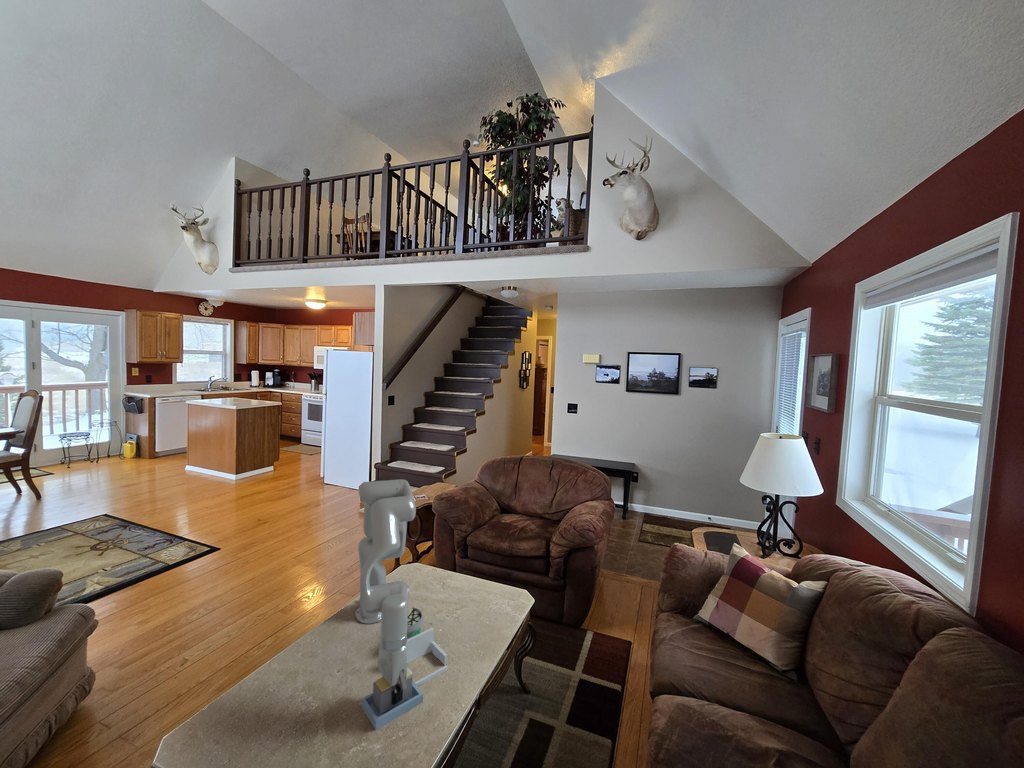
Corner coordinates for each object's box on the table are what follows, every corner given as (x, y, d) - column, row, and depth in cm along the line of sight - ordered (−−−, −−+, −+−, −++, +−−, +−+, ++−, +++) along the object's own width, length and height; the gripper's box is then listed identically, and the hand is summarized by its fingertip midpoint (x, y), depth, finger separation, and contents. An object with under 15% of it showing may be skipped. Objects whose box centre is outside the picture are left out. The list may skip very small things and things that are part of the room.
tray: (361, 706, 128) (361, 698, 128) (406, 682, 138) (407, 674, 138) (375, 730, 121) (376, 721, 120) (422, 702, 131) (423, 694, 130)
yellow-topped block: (372, 702, 128) (373, 680, 127) (403, 686, 135) (404, 665, 134) (380, 714, 124) (380, 691, 123) (411, 696, 131) (412, 674, 130)
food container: (414, 658, 148) (414, 630, 147) (397, 654, 150) (398, 627, 149) (428, 634, 160) (428, 609, 159) (412, 631, 162) (413, 606, 161)
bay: (395, 667, 144) (395, 644, 143) (431, 648, 153) (432, 627, 152) (412, 689, 135) (413, 665, 134) (450, 668, 145) (451, 645, 144)
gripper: (369, 628, 131) (368, 684, 133) (395, 661, 119) (394, 722, 120) (392, 618, 136) (391, 672, 138) (420, 649, 124) (418, 708, 125)
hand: (392, 695), depth 129 cm, fingers closed on yellow-topped block, 5 cm apart
